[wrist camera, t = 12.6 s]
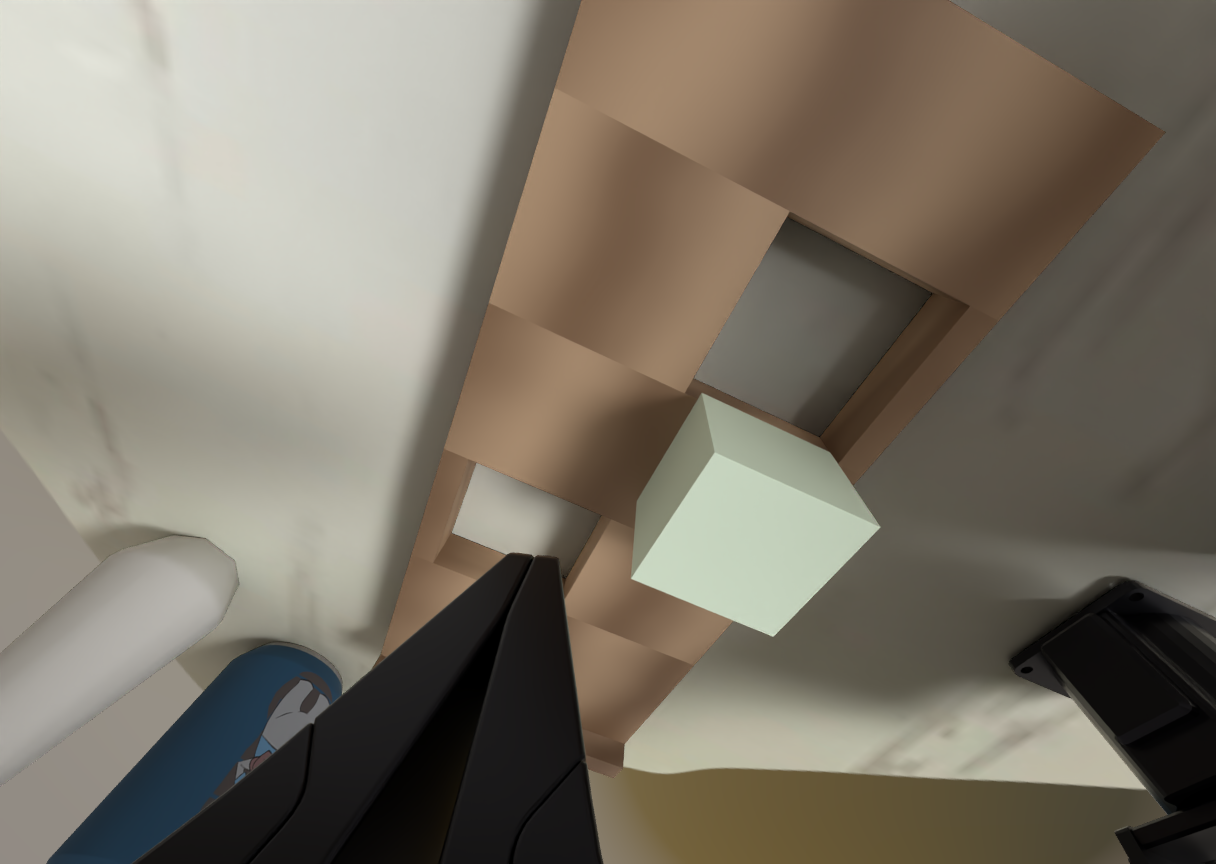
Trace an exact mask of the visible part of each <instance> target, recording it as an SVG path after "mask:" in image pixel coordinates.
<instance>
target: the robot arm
mask: <svg viewBox="0 0 1216 864" xmlns="http://www.w3.org/2000/svg"><path fill="white" fill-rule="evenodd" d="M1009 666H1010V668H1011V669H1012V670H1013V672H1014V673H1015V674H1016V675H1017V676H1019V677H1022V678H1024V679H1026V680H1029V681H1031V682H1034V683H1036V684H1038V685H1041V686H1043V687H1045V688H1048V689H1050V690H1052V691H1055V692H1057V693H1059V694H1062V695H1064V696H1066V697H1069V698H1071V699H1073V701H1074V702H1075V703H1076V704H1077V705H1078V707H1079V708H1080V709H1081V710H1082V712H1083V713H1084V714H1085V715H1086V716H1087V718H1088V719H1089V720H1090V721H1091V722H1092V724H1093V725H1094V726H1095V727H1096V728H1097V730H1098V731H1099V732H1100V733H1101V735H1102V736H1103V737H1104V738H1105V739H1106V741H1107V742H1108V743H1109V744H1110V745H1111V747H1112V748H1113V749H1114V750H1115V752H1116V753H1117V754H1118V755H1119V756H1120V758H1121V759H1122V760H1123V761H1124V762H1125V764H1126V765H1127V766H1128V767H1129V769H1130V770H1131V771H1132V772H1133V773H1134V775H1135V776H1136V777H1137V778H1138V779H1139V781H1140V782H1141V783H1142V784H1143V785H1144V787H1145V788H1146V789H1147V790H1148V791H1149V793H1150V794H1151V795H1152V796H1153V798H1154V799H1155V800H1156V801H1157V802H1158V804H1159V805H1160V806H1161V807H1162V808H1163V810H1164V811H1165V812H1166V813H1167V816H1164V817H1161V818H1158V819H1156V820H1153V821H1150V822H1147V823H1145V824H1142V825H1140V826H1137V827H1134V828H1133V827H1131V826H1126V827H1123V828H1121V829H1118V830H1116V831H1115V834H1116V836H1117V838H1118V840H1119V841H1120V843H1121V845H1122V846H1123V848H1124V850H1125V852H1126V854H1127V856H1128V857H1129V858H1128V860H1129V862H1130V864H1216V618H1215V617H1213V616H1210V615H1208V614H1206V613H1204V612H1202V611H1200V610H1198V609H1196V608H1193V607H1191V606H1189V605H1187V604H1185V603H1183V602H1181V601H1178V600H1176V599H1174V598H1172V597H1170V596H1168V595H1166V594H1164V593H1161V592H1159V591H1157V590H1155V589H1153V588H1151V587H1149V586H1147V585H1144V584H1142V583H1140V582H1137V581H1128V582H1124V583H1122V584H1120V585H1118V586H1117V587H1115V588H1114V589H1112V590H1111V591H1109V592H1108V593H1107V594H1105V595H1104V596H1102V597H1101V598H1099V599H1098V600H1096V601H1095V602H1094V603H1092V604H1091V605H1089V606H1088V607H1086V608H1085V609H1083V610H1082V611H1081V612H1079V613H1078V614H1076V615H1075V616H1073V617H1072V618H1070V619H1069V620H1067V621H1066V622H1065V623H1063V624H1062V625H1060V626H1059V627H1057V628H1056V629H1054V630H1053V631H1052V632H1050V633H1049V634H1047V635H1046V636H1044V637H1043V638H1041V639H1040V640H1039V641H1037V642H1036V643H1034V644H1033V645H1031V646H1030V647H1028V648H1027V649H1026V650H1024V651H1023V652H1021V653H1020V654H1018V655H1017V656H1015V657H1014V658H1012V659H1011V660H1010V661H1009ZM131 864H603V859H602V855H601V850H600V843H599V837H598V831H597V825H596V819H595V814H594V808H593V801H592V795H591V787H590V780H589V773H588V766H587V763H586V753H585V745H584V738H583V731H582V723H581V716H580V709H579V701H578V694H577V687H576V679H575V672H574V664H573V657H572V650H571V642H570V635H569V628H568V620H567V613H566V606H565V598H564V591H563V583H562V576H561V569H560V562H559V559H558V558H557V557H551V556H541V555H537V556H535V557H533V556H532V555H530V554H522V553H509V554H507V555H506V556H505V557H503V558H502V559H501V560H500V561H499V562H498V563H496V564H495V565H494V566H493V567H492V568H491V569H489V570H488V571H487V572H486V573H485V574H483V575H482V576H481V577H480V578H479V579H478V580H476V581H475V582H474V583H473V584H472V585H471V586H469V587H468V588H467V589H466V590H465V591H463V592H462V593H461V594H460V595H459V596H458V597H456V598H455V599H454V600H453V601H452V602H451V603H449V604H448V605H447V606H446V607H445V608H443V609H442V610H441V611H440V612H439V613H438V614H436V615H435V616H434V617H433V618H432V619H431V620H429V621H428V622H427V623H426V624H425V625H423V626H422V627H421V628H420V629H419V630H418V631H416V632H415V633H414V634H413V635H412V636H411V637H409V638H408V639H407V640H406V641H405V642H403V643H402V644H401V645H400V646H399V647H398V648H396V649H395V650H394V651H393V652H392V653H391V654H389V655H388V656H387V657H386V658H385V659H383V660H382V661H381V662H380V663H379V664H378V665H376V666H375V667H374V668H373V669H372V670H371V671H369V672H368V673H367V674H366V675H365V676H363V677H362V678H361V679H360V680H359V681H358V682H356V683H355V684H354V685H353V686H352V687H351V688H349V689H348V690H347V691H346V692H345V693H344V694H342V695H341V696H340V697H339V698H338V699H336V700H335V701H334V702H333V703H332V704H331V705H329V706H328V707H327V708H326V709H325V710H324V711H322V712H321V713H320V714H319V715H318V716H316V718H315V720H314V724H313V723H308V724H307V725H306V726H304V727H303V728H302V729H301V730H300V731H298V732H297V733H296V734H295V735H294V736H293V737H291V738H290V739H289V740H288V741H287V742H286V743H284V744H283V745H282V746H281V747H280V748H278V749H277V750H276V751H275V752H274V753H272V754H271V755H270V756H269V757H267V758H266V759H265V760H264V761H263V762H261V763H260V764H259V765H258V766H257V767H255V768H254V769H253V770H252V771H250V772H249V773H248V774H247V775H246V776H244V777H243V778H242V779H241V780H239V781H238V782H237V783H236V784H235V785H233V786H232V787H231V788H230V789H228V790H227V791H226V792H225V793H223V794H222V795H221V796H219V797H218V798H217V799H216V800H214V801H213V802H212V803H210V804H209V805H208V806H206V807H205V808H204V809H203V810H201V811H200V812H199V813H197V814H196V815H195V816H193V817H192V818H191V819H190V820H188V821H187V822H186V823H184V824H183V825H182V826H180V827H179V828H178V829H176V830H175V831H174V832H173V833H171V834H170V835H169V836H167V837H166V838H165V839H163V840H162V841H161V842H159V843H158V844H157V845H155V846H154V847H153V848H151V849H150V850H149V851H147V852H146V853H145V854H143V855H142V856H141V857H139V858H138V859H137V860H135V861H134V862H133V863H131Z"/></svg>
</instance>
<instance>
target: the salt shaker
mask: <svg viewBox="0 0 1216 864" xmlns="http://www.w3.org/2000/svg"><path fill="white" fill-rule="evenodd" d="M238 586H239V580H238V575H237V569H236V564H235V561H234V560H233V559H232V558H230V557H229V556H228V555H227V554H225V553H224V552H223V551H221V550H220V549H219V548H217V547H216V546H215V545H213V544H212V543H211V542H210V541H208V540H207V539H206V538H196V537H187V536H177V535H172V536H169V537H165V538H161V539H158V540H154V541H150V542H147V543H143V544H140V545H136V546H132V547H129V548H125V549H122V550H120V551H118V552H116V553H114V554H112V555H110V556H108V557H107V558H106V559H105V560H104V561H103V562H102V563H101V564H100V565H98V566H97V567H96V568H95V569H94V570H93V571H92V572H91V573H90V574H88V575H87V576H86V577H85V578H84V579H83V580H82V581H80V582H79V583H78V584H77V585H76V586H75V587H74V588H73V589H72V590H70V591H69V592H68V593H67V594H66V595H65V596H64V597H63V598H61V600H59V601H58V602H57V603H56V604H55V605H54V606H53V607H51V608H50V609H49V610H48V611H47V612H46V613H45V614H44V615H42V616H41V617H40V618H39V619H38V620H37V621H36V622H35V623H33V625H31V626H30V627H29V628H28V629H27V630H26V631H25V632H23V633H22V634H21V635H20V636H19V637H18V638H17V639H16V640H14V641H13V642H12V643H11V644H10V645H9V646H8V647H7V648H5V649H4V650H3V651H2V652H1V653H0V787H1V786H2V785H3V784H5V783H6V782H8V781H9V780H10V779H12V778H13V777H14V776H16V775H17V774H18V773H20V772H21V771H22V770H24V769H25V768H26V767H28V766H29V765H31V764H32V763H33V762H34V761H36V760H37V759H39V758H40V757H42V756H43V755H44V754H46V753H47V752H48V751H50V750H51V749H52V748H54V747H55V746H56V745H58V744H59V743H61V742H62V741H63V740H64V739H66V738H67V737H69V736H70V735H71V734H73V733H74V732H76V731H77V730H78V729H80V728H81V727H82V726H84V725H85V724H86V723H88V722H89V721H90V720H92V719H93V718H95V717H96V716H97V715H99V714H100V713H101V712H103V711H104V710H105V709H107V708H108V707H109V706H111V705H112V704H114V703H115V702H116V701H118V700H119V699H120V698H122V697H123V696H124V695H125V694H127V693H128V692H130V691H131V690H133V689H134V688H135V687H137V686H138V685H139V684H141V683H142V682H143V681H145V680H146V679H147V678H149V677H150V676H151V675H153V674H154V673H156V672H157V671H158V670H160V669H161V668H162V667H164V666H165V665H166V664H168V663H169V662H171V661H172V660H173V659H175V658H176V657H177V656H179V655H180V654H181V653H183V652H184V651H186V650H187V649H188V648H190V647H191V646H192V645H194V644H195V643H196V642H198V641H199V640H200V639H202V638H203V637H205V636H206V635H207V634H209V633H210V632H211V631H213V630H214V629H215V628H216V627H217V626H218V625H219V623H220V622H221V621H222V620H223V618H224V615H225V613H226V611H227V609H228V607H229V605H230V603H231V601H232V598H233V596H234V594H235V592H236V590H237V588H238Z"/></svg>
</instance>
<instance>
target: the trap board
mask: <svg viewBox="0 0 1216 864" xmlns="http://www.w3.org/2000/svg"><path fill="white" fill-rule="evenodd" d="M1165 133H1166V132H1165V131H1163V130H1161V129H1160V128H1158V127H1156V126H1155V125H1153V124H1151V123H1150V122H1148V121H1147V120H1145V119H1143V118H1142V117H1140V116H1138V115H1137V114H1135V113H1133V112H1132V111H1130V110H1128V109H1127V108H1125V107H1123V106H1122V105H1120V104H1119V103H1117V102H1115V101H1114V100H1112V99H1110V98H1109V97H1107V96H1105V95H1104V94H1102V93H1100V92H1099V91H1097V90H1096V89H1094V88H1092V87H1091V86H1089V85H1087V84H1086V83H1084V82H1082V81H1081V80H1079V79H1077V78H1076V77H1074V76H1073V75H1071V74H1069V73H1068V72H1066V71H1064V70H1063V69H1061V68H1059V67H1058V66H1056V65H1054V64H1053V63H1051V62H1049V61H1048V60H1046V59H1045V58H1043V57H1041V56H1040V55H1038V54H1036V53H1035V52H1033V51H1031V50H1030V49H1028V48H1026V47H1025V46H1023V45H1022V44H1020V43H1018V42H1017V41H1015V40H1013V39H1012V38H1010V37H1008V36H1007V35H1005V34H1003V33H1002V32H1000V31H998V30H997V29H995V28H994V27H992V26H990V25H989V24H987V23H985V22H984V21H982V20H980V19H979V18H977V17H975V16H974V15H972V14H971V13H969V12H967V11H966V10H964V9H962V8H961V7H959V6H957V5H956V4H954V3H952V2H951V1H949V0H581V4H580V7H579V10H578V13H577V17H576V20H575V23H574V26H573V30H572V33H571V36H570V39H569V43H568V46H567V49H566V52H565V56H564V59H563V62H562V65H561V69H560V72H559V75H558V79H557V82H556V85H555V88H554V92H553V95H552V98H551V101H550V105H549V108H548V111H547V114H546V118H545V121H544V124H543V127H542V131H541V134H540V137H539V140H538V144H537V147H536V150H535V153H534V157H533V160H532V163H531V166H530V170H529V173H528V176H527V179H526V183H525V186H524V189H523V192H522V196H521V199H520V202H519V206H518V209H517V212H516V215H515V219H514V222H513V225H512V228H511V232H510V235H509V238H508V241H507V245H506V248H505V251H504V254H503V258H502V261H501V264H500V267H499V271H498V274H497V277H496V280H495V284H494V287H493V290H492V293H491V297H490V300H489V303H488V306H487V310H486V313H485V316H484V319H483V323H482V326H481V329H480V333H479V336H478V339H477V342H476V346H475V349H474V352H473V355H472V359H471V362H470V365H469V368H468V372H467V375H466V378H465V381H464V385H463V388H462V391H461V394H460V398H459V401H458V404H457V407H456V411H455V414H454V417H453V420H452V424H451V427H450V430H449V433H448V437H447V440H446V443H445V446H444V450H443V453H442V456H441V460H440V463H439V466H438V469H437V473H436V476H435V479H434V482H433V486H432V489H431V492H430V495H429V499H428V502H427V505H426V508H425V512H424V515H423V518H422V521H421V525H420V528H419V531H418V534H417V538H416V541H415V544H414V547H413V551H412V554H411V557H410V560H409V564H408V567H407V570H406V573H405V577H404V580H403V583H402V586H401V590H400V593H399V596H398V600H397V603H396V606H395V609H394V613H393V616H392V619H391V622H390V626H389V629H388V632H387V635H386V639H385V642H384V645H383V648H382V652H381V655H380V656H379V658H378V660H377V661H376V663H375V665H374V666H373V668H374V667H375V666H376V665H378V664H379V663H380V662H381V661H382V660H383V659H385V658H386V657H387V656H388V655H389V654H391V653H392V652H393V651H394V650H395V649H396V648H398V647H399V646H400V645H401V644H402V643H403V642H405V641H406V640H407V639H408V638H409V637H411V636H412V635H413V634H414V633H415V632H416V631H418V630H419V629H420V628H421V627H422V626H423V625H425V624H426V623H427V622H428V621H429V620H431V619H432V618H433V617H434V616H435V615H436V614H438V613H439V612H440V611H441V610H442V609H443V608H445V607H446V606H447V605H448V604H449V603H451V602H452V601H453V600H454V599H455V598H456V597H458V596H459V595H460V594H461V593H462V592H463V591H465V590H466V589H467V588H468V587H469V586H471V585H472V584H473V583H474V582H475V581H476V580H478V579H479V578H480V577H481V576H482V575H483V574H485V573H486V572H487V571H488V570H489V569H491V568H492V567H493V566H494V565H495V564H496V563H498V562H499V561H500V560H501V559H502V558H503V557H505V556H506V555H504V554H502V553H499V552H497V551H494V550H492V549H489V548H487V547H484V546H482V545H479V544H477V543H474V542H472V541H469V540H467V539H465V538H462V537H460V536H457V535H455V534H452V530H453V527H454V524H455V522H456V519H457V516H458V513H459V510H460V508H461V505H462V502H463V499H464V496H465V494H466V491H467V488H468V485H469V482H470V480H471V477H472V474H473V471H474V468H475V466H476V463H479V464H481V465H484V466H486V467H488V468H491V469H493V470H495V471H498V472H500V473H503V474H505V475H507V476H510V477H512V478H514V479H517V480H519V481H522V482H524V483H526V484H529V485H531V486H533V487H536V488H538V489H540V490H543V491H545V492H548V493H550V494H552V495H555V496H557V497H559V498H562V499H564V500H567V501H569V502H571V503H574V504H576V505H578V506H581V507H583V508H586V509H588V510H590V511H593V512H595V513H597V514H600V515H602V516H601V518H600V519H599V521H598V523H597V525H596V526H595V528H594V530H593V532H592V534H591V535H590V537H589V539H588V541H587V542H586V544H585V546H584V548H583V550H582V551H581V553H580V555H579V557H578V558H577V560H576V562H575V564H574V566H573V567H572V569H571V571H570V573H569V574H568V576H567V578H566V579H564V578H562V583H563V591H564V598H565V606H566V613H567V620H568V628H569V635H570V642H571V650H572V657H573V664H574V672H575V679H576V687H577V694H578V701H579V709H580V716H581V723H582V731H583V738H584V745H585V753H586V763H587V766H588V769H589V770H592V771H595V772H598V773H601V774H603V775H606V776H609V777H612V778H614V777H615V776H616V775H617V774H618V773H619V772H620V771H621V770H622V769H623V760H624V744H625V743H626V742H627V741H628V739H629V738H630V737H631V736H632V735H633V734H634V733H635V732H636V730H637V729H638V728H639V727H640V726H641V725H642V724H643V723H644V721H645V720H646V719H647V718H648V717H649V716H650V715H651V713H652V712H653V711H654V710H655V709H656V708H657V707H658V706H659V704H660V703H661V702H662V701H663V700H664V699H665V698H666V697H667V695H668V694H669V693H670V692H671V691H672V690H673V689H674V687H675V686H676V685H677V684H678V683H679V682H680V681H681V680H682V678H683V677H684V676H685V675H686V674H687V673H688V672H689V671H690V669H691V668H692V667H693V666H694V665H695V664H696V663H697V661H698V660H699V659H700V658H701V657H702V656H703V655H704V654H705V652H706V651H707V650H708V649H709V648H710V647H711V646H712V645H713V643H714V642H715V641H716V640H717V639H718V638H719V637H720V636H721V634H722V633H723V632H724V631H725V630H726V629H727V628H728V626H729V625H730V624H731V623H732V622H733V620H731V619H728V618H726V617H723V616H721V615H719V614H716V613H714V612H711V611H709V610H706V609H704V608H701V607H699V606H696V605H694V604H692V603H689V602H687V601H684V600H682V599H679V598H677V597H674V596H672V595H670V594H667V593H665V592H662V591H660V590H657V589H655V588H652V587H650V586H648V585H645V584H643V583H640V582H638V581H635V580H633V579H631V571H632V557H633V544H634V531H635V518H636V504H637V500H638V498H639V496H640V495H641V493H642V491H643V490H644V488H645V486H646V485H647V483H648V481H649V480H650V478H651V476H652V475H653V473H654V471H655V470H656V468H657V466H658V465H659V463H660V461H661V460H662V458H663V456H664V455H665V453H666V451H667V450H668V448H669V447H670V445H671V443H672V442H673V440H674V438H675V437H676V435H677V433H678V432H679V430H680V428H681V427H682V425H683V423H684V422H685V420H686V418H687V417H688V415H689V413H690V412H691V410H692V408H693V407H694V405H695V403H696V402H697V400H698V398H699V397H700V395H701V393H703V394H706V395H708V396H710V397H712V398H714V399H716V400H719V401H721V402H723V403H725V404H727V405H729V406H731V407H734V408H736V409H738V410H740V411H742V412H744V413H746V414H749V415H751V416H753V417H755V418H757V419H759V420H762V421H764V422H766V423H768V424H770V425H772V426H774V427H777V428H779V429H781V430H783V431H785V432H787V433H789V434H792V435H794V436H796V437H798V438H800V439H802V440H805V441H807V442H809V443H811V444H813V445H815V446H817V447H820V448H822V449H824V450H826V451H828V452H830V453H831V454H832V456H833V457H834V459H835V460H836V462H837V463H838V465H839V466H840V468H841V469H842V471H843V472H844V474H845V475H846V476H847V478H848V479H849V481H850V482H851V484H852V485H854V484H855V483H856V482H857V481H858V480H859V478H860V477H861V476H862V475H863V474H864V473H865V472H866V471H867V469H868V468H869V467H870V466H871V465H872V464H873V463H874V461H875V460H876V459H877V458H878V457H879V456H880V455H881V454H882V452H883V451H884V450H885V449H886V448H887V447H888V446H889V445H890V443H891V442H892V441H893V440H894V439H895V438H896V437H897V435H898V434H899V433H900V432H901V431H902V430H903V429H904V428H905V426H906V425H907V424H908V423H909V422H910V421H911V420H912V419H913V417H914V416H915V415H916V414H917V413H918V412H919V411H920V409H921V408H922V407H923V406H924V405H925V404H926V403H927V402H928V400H929V399H930V398H931V397H932V396H933V395H934V394H935V393H936V391H937V390H938V389H939V388H940V387H941V386H942V385H943V383H944V382H945V381H946V380H947V379H948V378H949V377H950V376H951V374H952V373H953V372H954V371H955V370H956V369H957V368H958V367H959V365H960V364H961V363H962V362H963V361H964V360H965V359H966V358H967V356H968V355H969V354H970V353H971V352H972V351H973V350H974V348H975V347H976V346H977V345H978V344H979V343H980V342H981V341H982V339H983V338H984V337H985V336H986V335H987V334H988V333H989V332H990V330H991V329H992V328H993V327H994V326H995V325H996V324H997V322H998V321H999V320H1000V319H1001V318H1002V317H1003V316H1004V315H1005V313H1006V312H1007V311H1008V310H1009V309H1010V308H1011V307H1012V306H1013V304H1014V303H1015V302H1016V301H1017V300H1018V299H1019V298H1020V296H1021V295H1022V294H1023V293H1024V292H1025V291H1026V290H1027V289H1028V287H1029V286H1030V285H1031V284H1032V283H1033V282H1034V281H1035V280H1036V278H1037V277H1038V276H1039V275H1040V274H1041V273H1042V272H1043V270H1044V269H1045V268H1046V267H1047V266H1048V265H1049V264H1050V263H1051V261H1052V260H1053V259H1054V258H1055V257H1056V256H1057V255H1058V254H1059V252H1060V251H1061V250H1062V249H1063V248H1064V247H1065V246H1066V244H1067V243H1068V242H1069V241H1070V240H1071V239H1072V238H1073V237H1074V235H1075V234H1076V233H1077V232H1078V231H1079V230H1080V229H1081V228H1082V226H1083V225H1084V224H1085V223H1086V222H1087V221H1088V220H1089V219H1090V217H1091V216H1092V215H1093V214H1094V213H1095V212H1096V211H1097V209H1098V208H1099V207H1100V206H1101V205H1102V204H1103V203H1104V202H1105V200H1106V199H1107V198H1108V197H1109V196H1110V195H1111V194H1112V193H1113V191H1114V190H1115V189H1116V188H1117V187H1118V186H1119V185H1120V183H1121V182H1122V181H1123V180H1124V179H1125V178H1126V177H1127V176H1128V174H1129V173H1130V172H1131V171H1132V170H1133V169H1134V168H1135V167H1136V165H1137V164H1138V163H1139V162H1140V161H1141V160H1142V159H1143V157H1144V156H1145V155H1146V154H1147V153H1148V152H1149V151H1150V150H1151V148H1152V147H1153V146H1154V145H1155V144H1156V143H1157V142H1158V141H1159V139H1160V138H1161V137H1162V136H1163V135H1164V134H1165ZM786 217H789V218H790V219H792V220H794V221H796V222H798V223H800V224H802V225H804V226H806V227H808V228H810V229H811V230H813V231H815V232H817V233H819V234H821V235H823V236H825V237H827V238H829V239H831V240H832V241H834V242H836V243H838V244H840V245H842V246H844V247H846V248H848V249H850V250H852V251H853V252H855V253H857V254H859V255H861V256H863V257H865V258H867V259H869V260H871V261H873V262H875V263H876V264H878V265H880V266H882V267H884V268H886V269H888V270H890V271H892V272H894V273H896V274H897V275H899V276H901V277H903V278H905V279H907V280H909V281H911V282H913V283H915V284H917V285H918V286H920V287H922V288H924V289H926V290H928V291H930V292H932V293H933V294H932V295H931V297H930V298H929V299H928V300H927V302H926V303H925V304H924V306H923V307H922V308H921V309H920V311H919V312H918V313H917V314H916V316H915V317H914V318H913V319H912V321H911V322H910V323H909V325H908V326H907V327H906V328H905V330H904V331H903V332H902V333H901V335H900V336H899V337H898V339H897V340H896V341H895V342H894V344H893V345H892V346H891V347H890V349H889V350H888V351H887V353H886V354H885V355H884V356H883V358H882V359H881V360H880V361H879V363H878V364H877V365H876V367H875V368H874V369H873V370H872V372H871V373H870V374H869V375H868V377H867V378H866V379H865V380H864V382H863V383H862V384H861V386H860V387H859V388H858V389H857V391H856V392H855V393H854V394H853V396H852V397H851V398H850V400H849V401H848V402H847V403H846V405H845V406H844V407H843V408H842V410H841V411H840V412H839V414H838V415H837V416H836V417H835V419H834V420H833V421H832V422H831V424H830V425H829V426H828V428H827V429H826V430H825V431H824V433H823V434H822V435H821V436H820V437H818V436H816V435H813V434H811V433H809V432H807V431H805V430H803V429H801V428H798V427H796V426H794V425H792V424H790V423H788V422H786V421H783V420H781V419H779V418H777V417H775V416H773V415H771V414H769V413H766V412H764V411H762V410H760V409H758V408H756V407H754V406H751V405H749V404H747V403H745V402H743V401H741V400H739V399H736V398H734V397H732V396H730V395H728V394H726V393H724V392H722V391H719V390H717V389H715V388H713V387H711V386H709V385H707V384H704V383H702V382H700V381H698V380H696V379H694V376H695V374H696V373H697V371H698V369H699V367H700V366H701V364H702V362H703V360H704V359H705V357H706V355H707V354H708V352H709V350H710V348H711V347H712V345H713V343H714V341H715V340H716V338H717V336H718V335H719V333H720V331H721V329H722V328H723V326H724V324H725V323H726V321H727V319H728V317H729V316H730V314H731V312H732V310H733V309H734V307H735V305H736V304H737V302H738V300H739V298H740V297H741V295H742V293H743V291H744V290H745V288H746V286H747V285H748V283H749V281H750V279H751V278H752V276H753V274H754V272H755V271H756V269H757V267H758V266H759V264H760V262H761V260H762V259H763V257H764V255H765V254H766V252H767V250H768V248H769V247H770V245H771V243H772V241H773V240H774V238H775V236H776V235H777V233H778V231H779V229H780V228H781V226H782V224H783V222H784V221H785V219H786ZM373 668H372V669H373Z"/></svg>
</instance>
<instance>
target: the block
mask: <svg viewBox="0 0 1216 864" xmlns="http://www.w3.org/2000/svg"><path fill="white" fill-rule="evenodd" d="M879 528H880V526H879V524H878V523H877V521H876V520H875V518H874V517H873V515H872V514H871V512H870V511H869V509H868V508H867V506H866V505H865V503H864V502H863V500H862V499H861V497H860V496H859V494H858V493H857V491H856V490H855V488H854V487H853V485H852V484H851V482H850V481H849V479H848V478H847V476H846V475H845V474H844V472H843V471H842V469H841V468H840V466H839V465H838V463H837V462H836V460H835V459H834V457H833V456H832V454H831V453H830V452H828V451H826V450H824V449H822V448H820V447H817V446H815V445H813V444H811V443H809V442H807V441H805V440H802V439H800V438H798V437H796V436H794V435H792V434H789V433H787V432H785V431H783V430H781V429H779V428H777V427H774V426H772V425H770V424H768V423H766V422H764V421H762V420H759V419H757V418H755V417H753V416H751V415H749V414H746V413H744V412H742V411H740V410H738V409H736V408H734V407H731V406H729V405H727V404H725V403H723V402H721V401H719V400H716V399H714V398H712V397H710V396H708V395H706V394H703V393H701V395H700V397H699V398H698V400H697V402H696V403H695V405H694V407H693V408H692V410H691V412H690V413H689V415H688V417H687V418H686V420H685V422H684V423H683V425H682V427H681V428H680V430H679V432H678V433H677V435H676V437H675V438H674V440H673V442H672V443H671V445H670V447H669V448H668V450H667V451H666V453H665V455H664V456H663V458H662V460H661V461H660V463H659V465H658V466H657V468H656V470H655V471H654V473H653V475H652V476H651V478H650V480H649V481H648V483H647V485H646V486H645V488H644V490H643V491H642V493H641V495H640V496H639V498H638V500H637V504H636V518H635V531H634V544H633V557H632V571H631V579H633V580H635V581H638V582H640V583H643V584H645V585H648V586H650V587H652V588H655V589H657V590H660V591H662V592H665V593H667V594H670V595H672V596H674V597H677V598H679V599H682V600H684V601H687V602H689V603H692V604H694V605H696V606H699V607H701V608H704V609H706V610H709V611H711V612H714V613H716V614H719V615H721V616H723V617H726V618H728V619H731V620H733V621H736V622H738V623H741V624H743V625H745V626H748V627H750V628H753V629H755V630H758V631H760V632H763V633H765V634H767V635H770V636H772V637H774V636H775V635H776V634H777V633H778V632H779V631H780V630H781V629H782V628H783V627H784V625H785V624H786V623H787V622H788V621H789V620H790V619H791V618H792V617H793V616H794V615H795V614H796V613H797V612H798V611H799V610H800V609H801V608H802V607H803V606H804V605H805V604H806V603H807V602H808V601H809V600H810V599H811V598H812V597H813V596H814V595H815V594H816V593H817V592H818V591H819V590H820V589H821V588H822V587H823V586H824V585H825V584H826V583H827V582H828V581H829V579H830V578H831V577H832V576H833V575H834V574H835V573H836V572H837V571H838V570H839V569H840V568H841V567H842V566H843V565H844V564H845V563H846V562H847V561H848V560H849V559H850V558H851V557H852V556H853V555H854V554H855V553H856V552H857V551H858V550H859V549H860V548H861V547H862V546H863V545H864V544H865V543H866V542H867V541H868V540H869V539H870V538H871V537H872V536H873V535H874V534H875V532H876V531H877V530H878V529H879Z"/></svg>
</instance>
